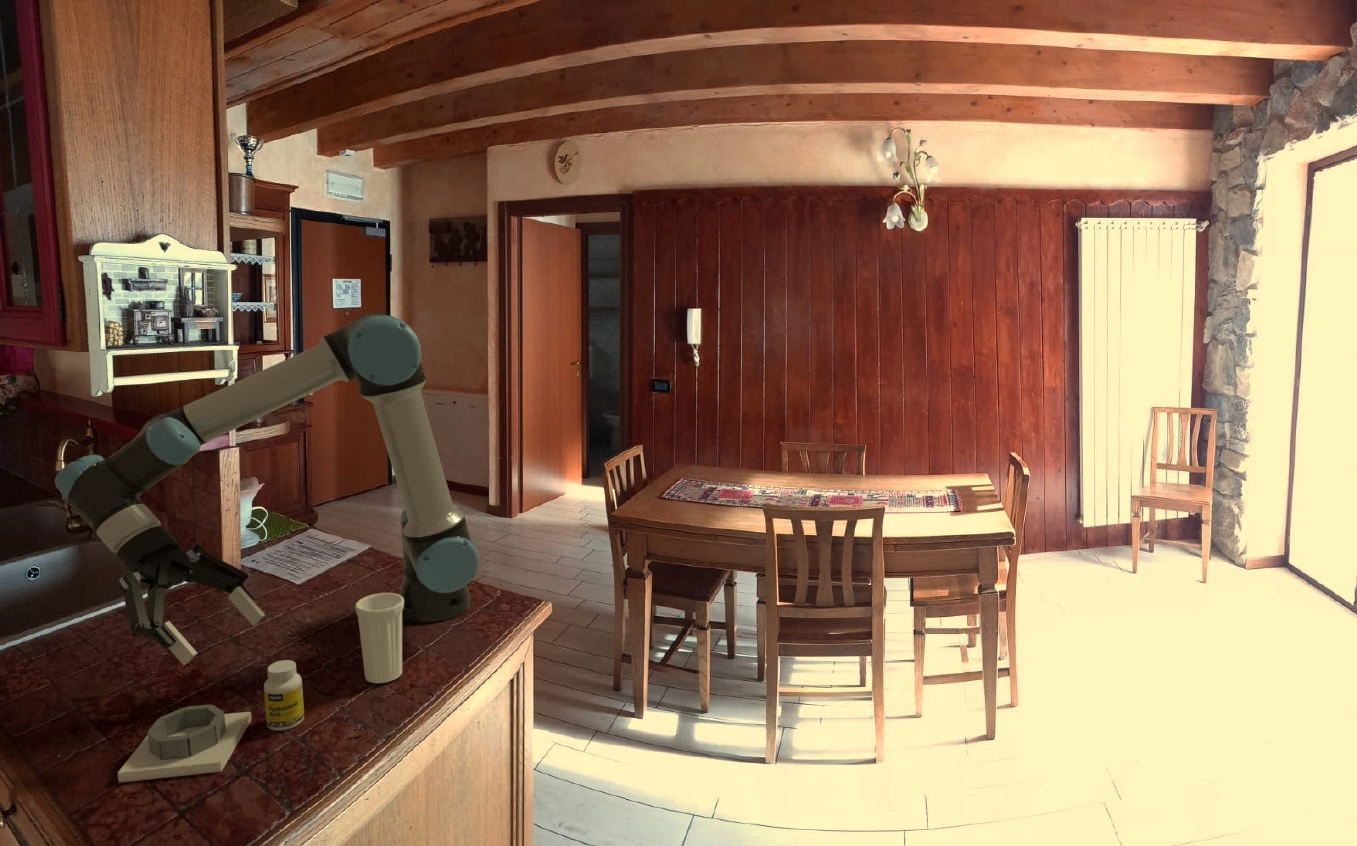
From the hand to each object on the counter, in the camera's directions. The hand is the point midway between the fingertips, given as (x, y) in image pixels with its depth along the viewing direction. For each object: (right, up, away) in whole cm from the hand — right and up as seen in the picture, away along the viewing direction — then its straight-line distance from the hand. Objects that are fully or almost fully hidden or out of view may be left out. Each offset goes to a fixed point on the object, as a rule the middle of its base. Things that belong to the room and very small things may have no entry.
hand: (227, 638), depth 119 cm
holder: (-2, -15, -7) cm, 16 cm away
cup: (+19, -11, +15) cm, 27 cm away
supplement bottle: (+9, -14, +1) cm, 16 cm away
